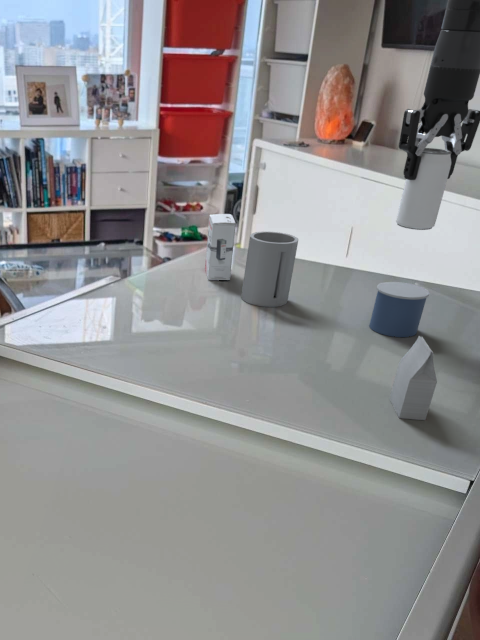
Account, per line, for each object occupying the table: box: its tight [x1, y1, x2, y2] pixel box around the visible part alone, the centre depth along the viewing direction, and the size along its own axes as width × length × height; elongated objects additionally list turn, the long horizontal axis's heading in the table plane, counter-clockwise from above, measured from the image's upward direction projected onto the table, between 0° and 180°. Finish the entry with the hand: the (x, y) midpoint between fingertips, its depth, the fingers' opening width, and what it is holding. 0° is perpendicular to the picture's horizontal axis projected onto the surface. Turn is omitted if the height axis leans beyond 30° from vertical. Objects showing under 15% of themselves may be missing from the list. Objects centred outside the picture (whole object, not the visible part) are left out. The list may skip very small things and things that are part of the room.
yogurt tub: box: [368, 281, 430, 338], centre depth 138 cm, size 9×9×7 cm
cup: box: [240, 231, 299, 308], centre depth 149 cm, size 9×9×12 cm
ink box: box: [204, 213, 237, 281], centre depth 161 cm, size 9×5×12 cm, turn 178°
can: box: [395, 147, 452, 231], centre depth 129 cm, size 6×6×12 cm
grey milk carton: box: [388, 335, 438, 421], centre depth 109 cm, size 4×7×10 cm, turn 173°
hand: (426, 178), depth 128 cm, fingers closed on can, 6 cm apart
